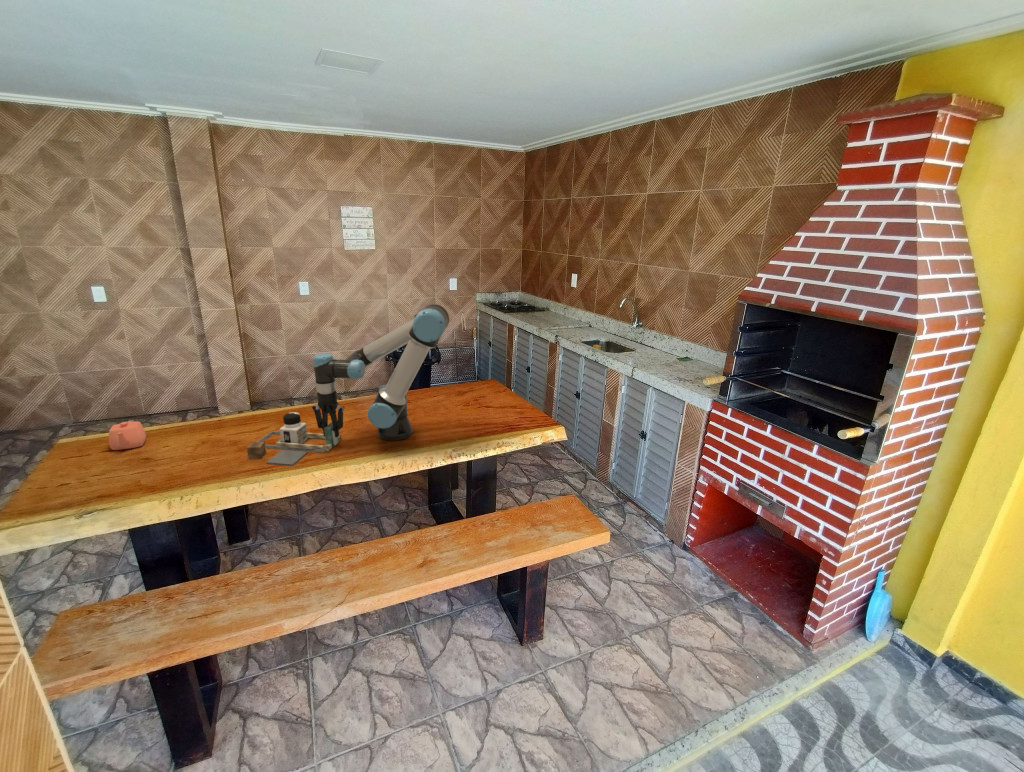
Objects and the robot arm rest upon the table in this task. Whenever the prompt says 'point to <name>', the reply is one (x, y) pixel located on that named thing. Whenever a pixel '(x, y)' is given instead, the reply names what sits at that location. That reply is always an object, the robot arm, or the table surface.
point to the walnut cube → (256, 450)
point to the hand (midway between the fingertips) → (332, 443)
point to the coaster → (286, 457)
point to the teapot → (126, 435)
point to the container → (293, 429)
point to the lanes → (287, 446)
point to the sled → (327, 437)
